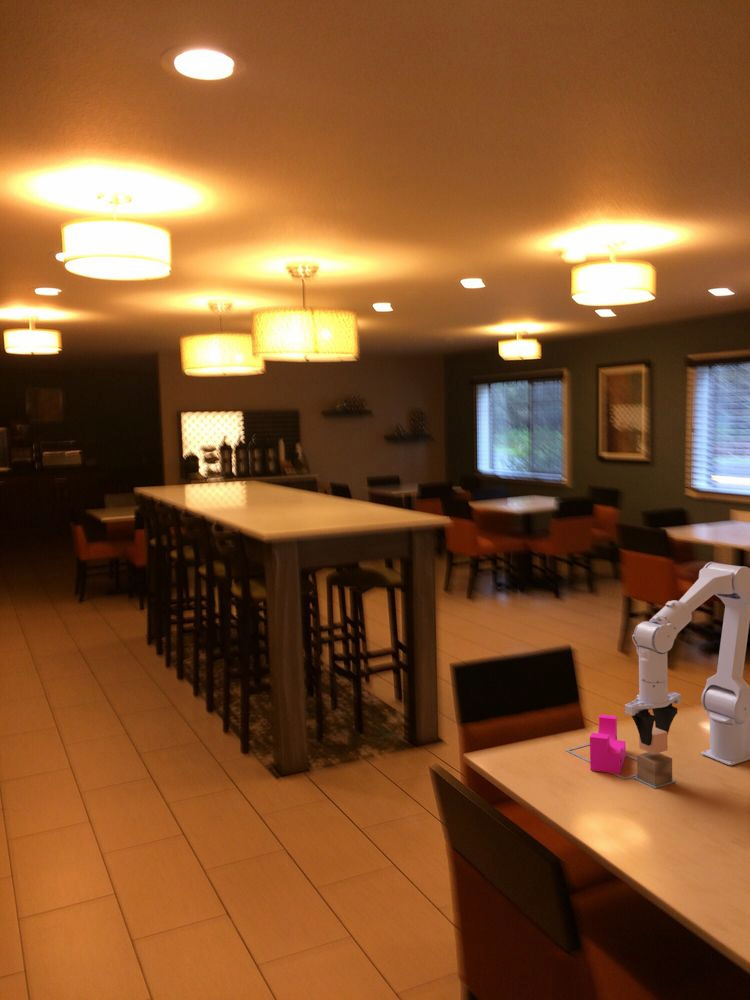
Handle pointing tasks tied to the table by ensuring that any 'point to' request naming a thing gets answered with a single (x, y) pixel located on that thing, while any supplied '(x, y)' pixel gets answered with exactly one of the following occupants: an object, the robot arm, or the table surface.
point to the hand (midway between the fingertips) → (653, 741)
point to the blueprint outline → (617, 774)
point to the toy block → (607, 747)
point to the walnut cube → (654, 768)
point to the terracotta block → (656, 742)
